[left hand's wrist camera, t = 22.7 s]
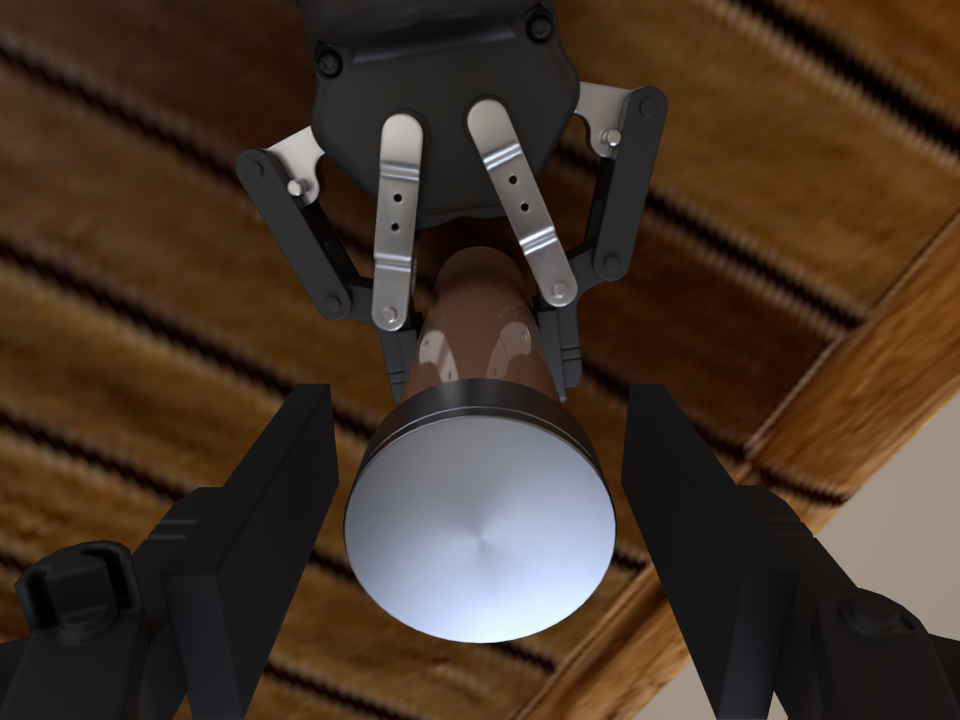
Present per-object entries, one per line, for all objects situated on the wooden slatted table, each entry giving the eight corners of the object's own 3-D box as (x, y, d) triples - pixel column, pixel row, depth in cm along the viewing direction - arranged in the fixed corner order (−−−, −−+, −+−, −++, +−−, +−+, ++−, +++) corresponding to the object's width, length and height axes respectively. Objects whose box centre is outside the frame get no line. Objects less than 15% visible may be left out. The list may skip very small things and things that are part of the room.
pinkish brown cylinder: (425, 320, 28) (351, 566, 12) (448, 234, 27) (401, 383, 11) (509, 344, 29) (546, 613, 13) (537, 261, 27) (620, 443, 11)
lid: (317, 429, 12) (292, 475, 10) (550, 339, 11) (562, 373, 10) (421, 609, 13) (413, 673, 12) (630, 540, 13) (651, 597, 11)
